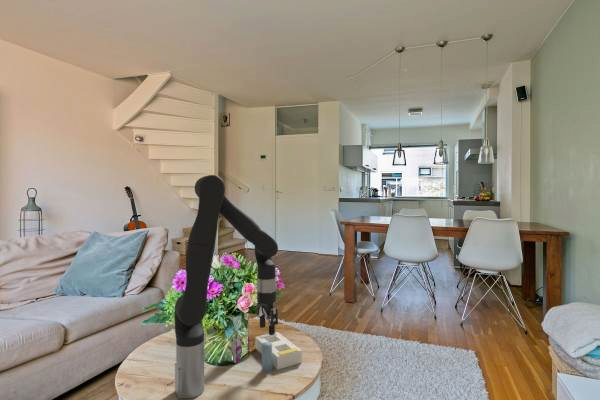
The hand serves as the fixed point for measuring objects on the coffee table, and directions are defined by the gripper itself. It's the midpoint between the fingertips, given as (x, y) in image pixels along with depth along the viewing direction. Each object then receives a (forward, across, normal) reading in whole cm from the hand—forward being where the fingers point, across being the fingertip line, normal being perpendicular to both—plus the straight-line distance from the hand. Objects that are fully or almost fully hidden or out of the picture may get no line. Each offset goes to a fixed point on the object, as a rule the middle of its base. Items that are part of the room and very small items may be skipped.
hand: (267, 330), depth 131 cm
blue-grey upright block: (+15, 0, 0) cm, 15 cm away
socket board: (+15, -9, +9) cm, 20 cm away
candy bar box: (+15, -16, -6) cm, 23 cm away
